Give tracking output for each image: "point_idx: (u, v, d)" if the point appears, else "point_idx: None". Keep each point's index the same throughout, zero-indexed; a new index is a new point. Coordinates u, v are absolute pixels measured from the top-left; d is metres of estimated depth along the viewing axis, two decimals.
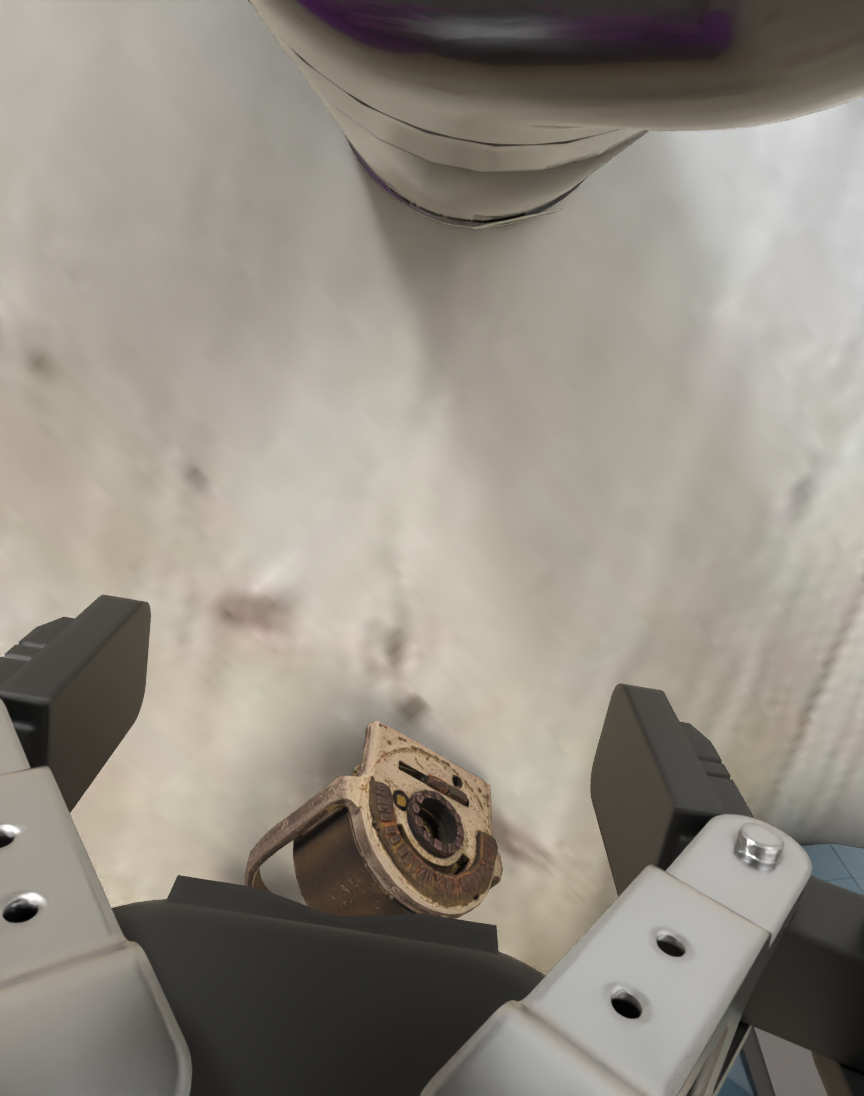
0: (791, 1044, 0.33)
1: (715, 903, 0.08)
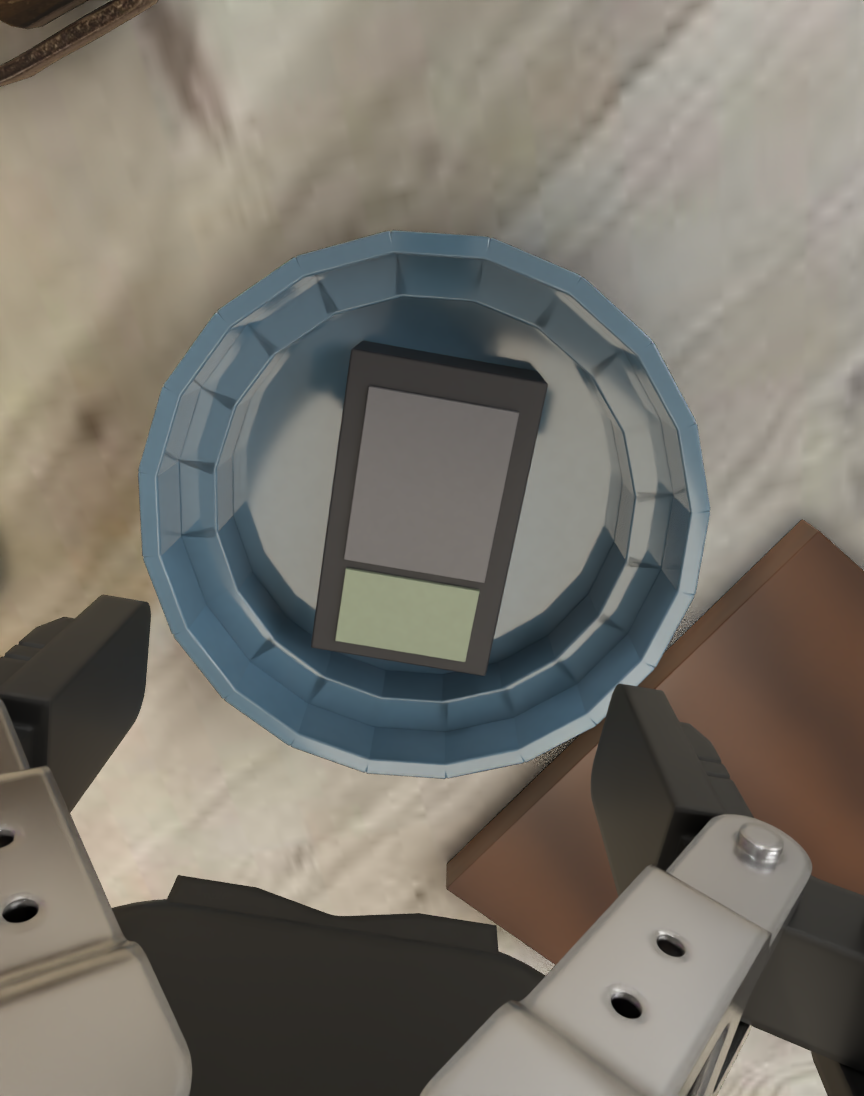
0: (397, 463, 0.25)
1: (715, 903, 0.08)
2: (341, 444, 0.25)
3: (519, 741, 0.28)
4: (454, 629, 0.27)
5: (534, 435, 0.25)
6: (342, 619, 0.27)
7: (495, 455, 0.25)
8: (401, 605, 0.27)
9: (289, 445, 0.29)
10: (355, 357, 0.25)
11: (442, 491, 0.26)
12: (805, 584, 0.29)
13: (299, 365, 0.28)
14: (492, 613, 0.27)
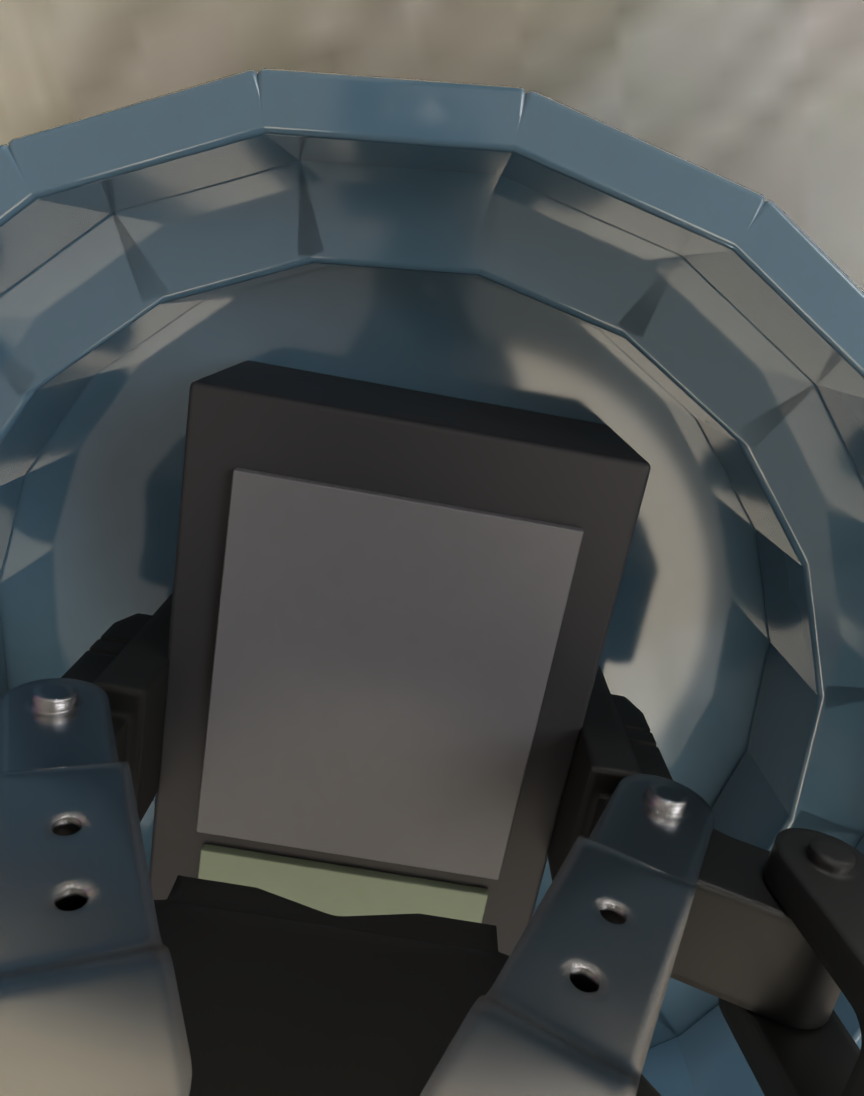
0: (306, 638, 0.11)
1: (644, 865, 0.08)
2: (178, 595, 0.11)
3: None
4: None
5: (617, 580, 0.11)
6: None
7: (527, 624, 0.11)
8: None
9: (109, 566, 0.14)
10: (200, 402, 0.10)
11: (407, 697, 0.12)
12: None
13: (120, 410, 0.14)
14: (514, 933, 0.13)
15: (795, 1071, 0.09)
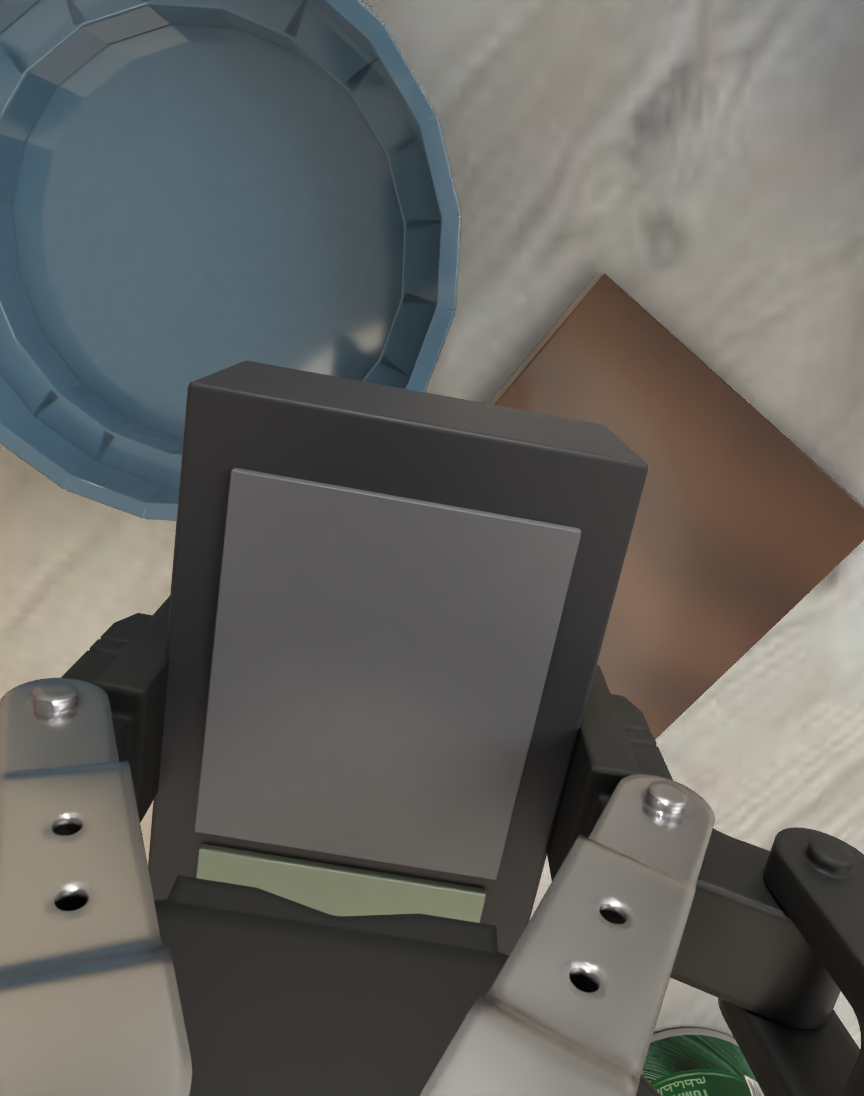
0: (304, 638, 0.11)
1: (644, 865, 0.08)
2: (177, 595, 0.11)
3: None
4: None
5: (615, 581, 0.11)
6: None
7: (525, 624, 0.11)
8: None
9: (68, 194, 0.28)
10: (198, 402, 0.10)
11: (405, 697, 0.12)
12: (595, 333, 0.29)
13: (71, 105, 0.27)
14: (513, 933, 0.13)
15: (795, 1071, 0.09)
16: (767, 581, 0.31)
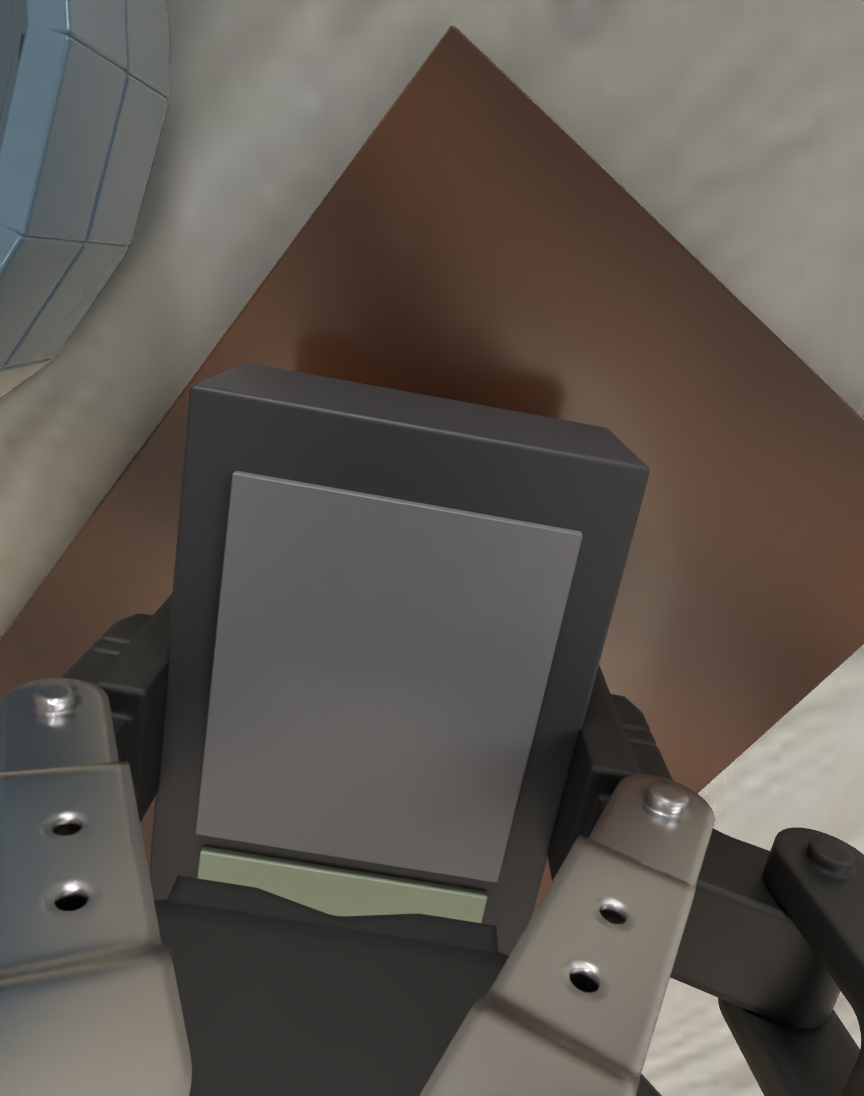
0: (305, 641, 0.11)
1: (644, 865, 0.08)
2: (178, 598, 0.11)
3: None
4: None
5: (616, 584, 0.11)
6: None
7: (526, 627, 0.11)
8: None
9: None
10: (199, 405, 0.10)
11: (406, 700, 0.12)
12: (440, 151, 0.14)
13: None
14: (513, 936, 0.13)
15: (795, 1071, 0.09)
16: (770, 639, 0.17)
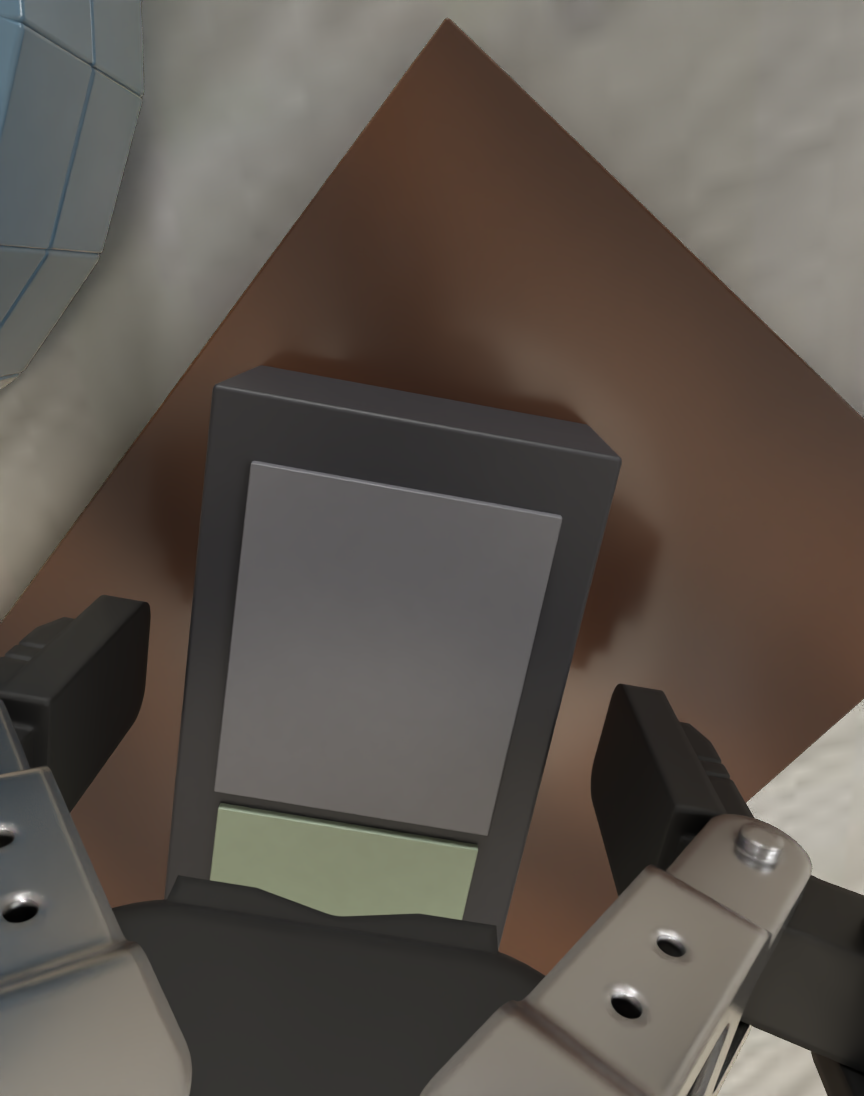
0: (314, 614, 0.13)
1: (715, 903, 0.08)
2: (200, 575, 0.13)
3: None
4: None
5: (592, 562, 0.12)
6: None
7: (512, 601, 0.12)
8: (327, 873, 0.14)
9: None
10: (222, 402, 0.12)
11: (404, 668, 0.13)
12: (433, 153, 0.13)
13: None
14: (502, 886, 0.14)
15: None
16: (786, 673, 0.16)
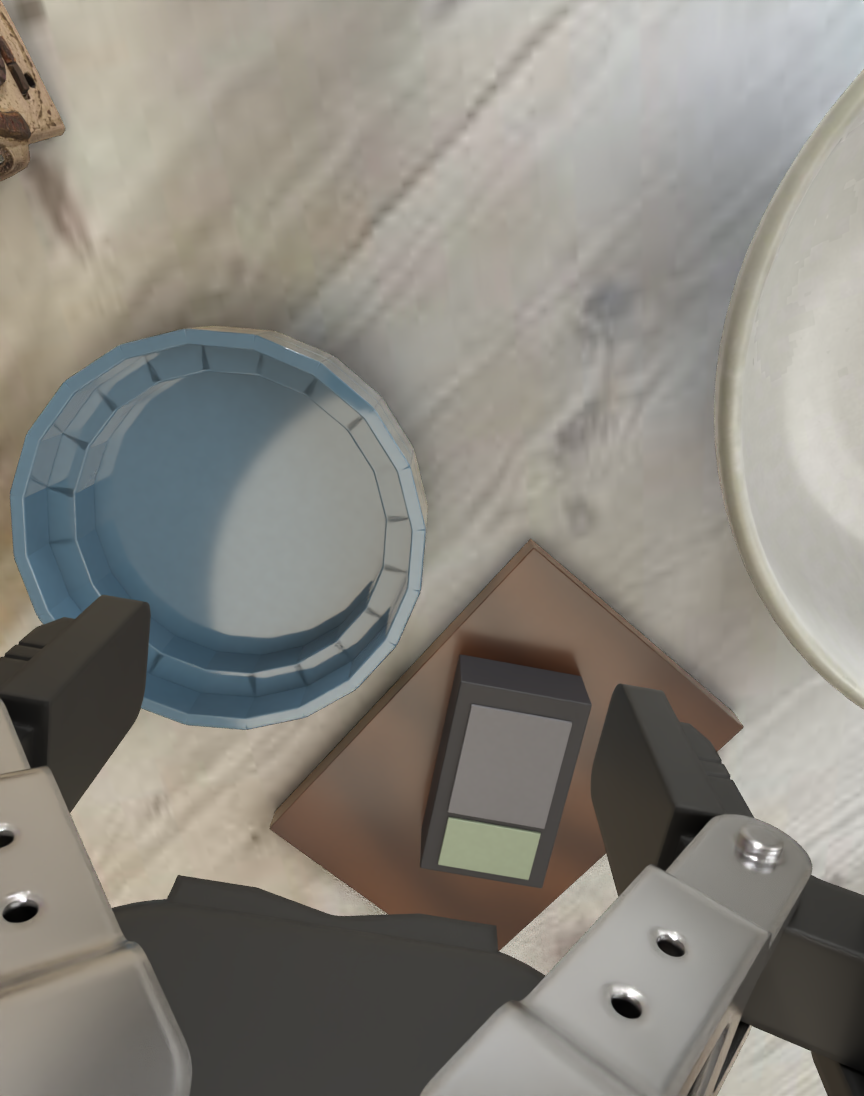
0: (488, 752, 0.37)
1: (715, 903, 0.08)
2: (450, 739, 0.37)
3: (301, 702, 0.37)
4: (522, 858, 0.39)
5: (582, 736, 0.37)
6: (443, 850, 0.39)
7: (555, 749, 0.37)
8: (485, 842, 0.39)
9: (137, 476, 0.38)
10: (463, 686, 0.37)
11: (518, 770, 0.38)
12: (527, 587, 0.38)
13: (143, 417, 0.37)
14: (548, 847, 0.39)
15: None
16: None
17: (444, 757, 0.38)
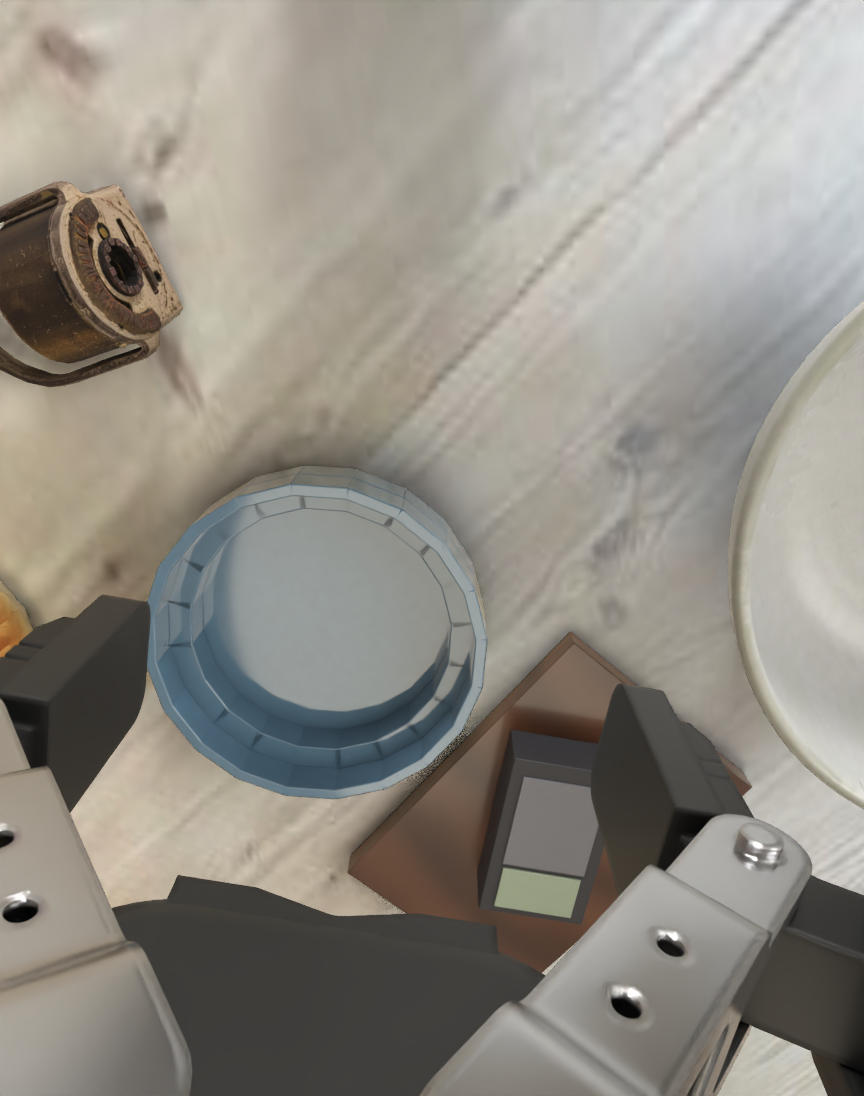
0: (537, 815, 0.45)
1: (715, 903, 0.08)
2: (505, 804, 0.45)
3: (381, 775, 0.44)
4: (565, 900, 0.46)
5: None
6: (499, 894, 0.46)
7: (593, 812, 0.44)
8: (534, 887, 0.46)
9: (239, 586, 0.45)
10: (516, 762, 0.44)
11: (562, 829, 0.45)
12: (568, 675, 0.45)
13: (244, 538, 0.44)
14: (587, 891, 0.46)
15: None
16: None
17: (500, 819, 0.45)
